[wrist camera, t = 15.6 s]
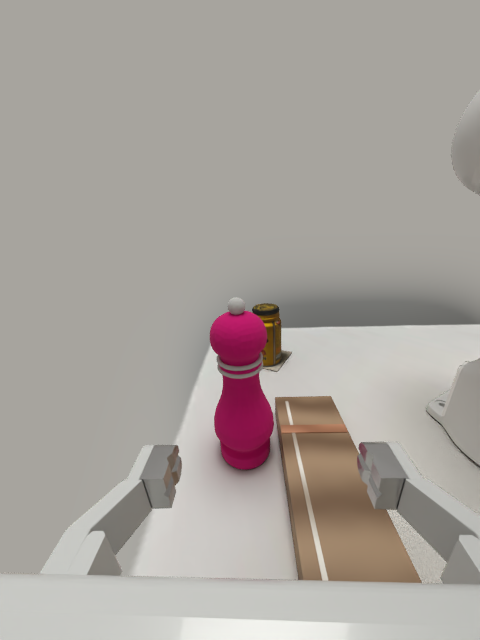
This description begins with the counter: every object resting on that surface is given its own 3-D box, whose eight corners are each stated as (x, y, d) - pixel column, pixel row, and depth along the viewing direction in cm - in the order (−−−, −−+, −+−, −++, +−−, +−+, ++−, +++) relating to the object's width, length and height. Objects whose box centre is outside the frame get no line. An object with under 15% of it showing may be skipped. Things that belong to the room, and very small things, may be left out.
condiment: (244, 363, 50) (241, 309, 46) (262, 346, 57) (261, 298, 52) (277, 372, 46) (277, 314, 42) (292, 353, 53) (293, 301, 49)
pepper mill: (284, 442, 31) (286, 293, 24) (251, 487, 26) (241, 314, 19) (241, 418, 35) (232, 286, 28) (205, 452, 30) (183, 301, 23)
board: (275, 413, 36) (275, 396, 35) (329, 412, 36) (330, 395, 34) (344, 905, 10) (353, 899, 9) (552, 924, 9) (589, 922, 8)
